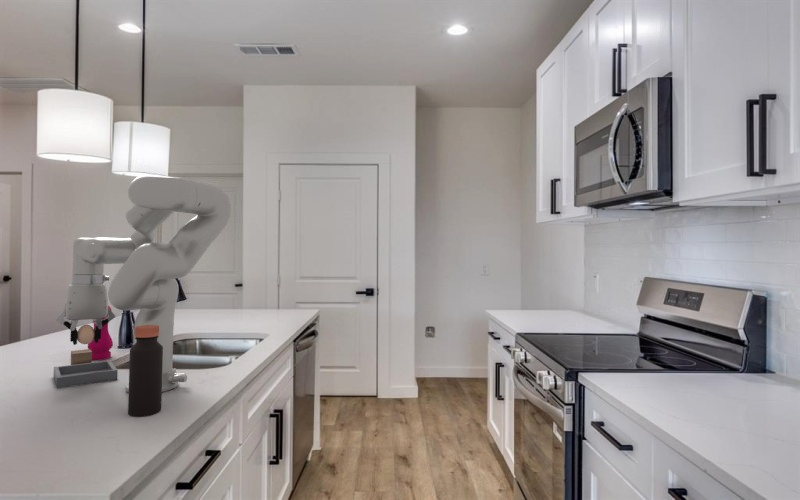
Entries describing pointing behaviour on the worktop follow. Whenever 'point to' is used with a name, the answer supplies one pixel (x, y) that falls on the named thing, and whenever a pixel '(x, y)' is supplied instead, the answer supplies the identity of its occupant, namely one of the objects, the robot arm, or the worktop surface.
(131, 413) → the bottle
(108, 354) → the pepper mill
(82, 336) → the egg
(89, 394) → the worktop surface
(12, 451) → the worktop surface
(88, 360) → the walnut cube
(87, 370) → the dish
